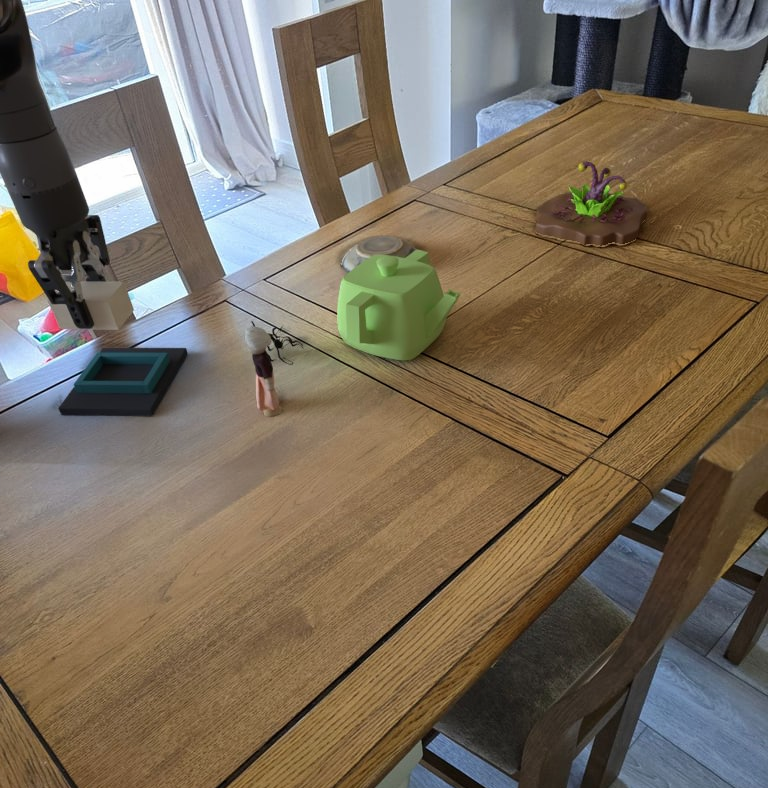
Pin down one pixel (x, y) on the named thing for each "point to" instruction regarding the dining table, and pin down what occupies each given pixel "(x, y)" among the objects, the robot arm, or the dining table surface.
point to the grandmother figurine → (263, 371)
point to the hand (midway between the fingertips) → (95, 315)
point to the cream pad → (98, 305)
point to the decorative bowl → (376, 250)
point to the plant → (592, 213)
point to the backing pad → (124, 382)
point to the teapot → (393, 306)
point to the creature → (279, 343)
